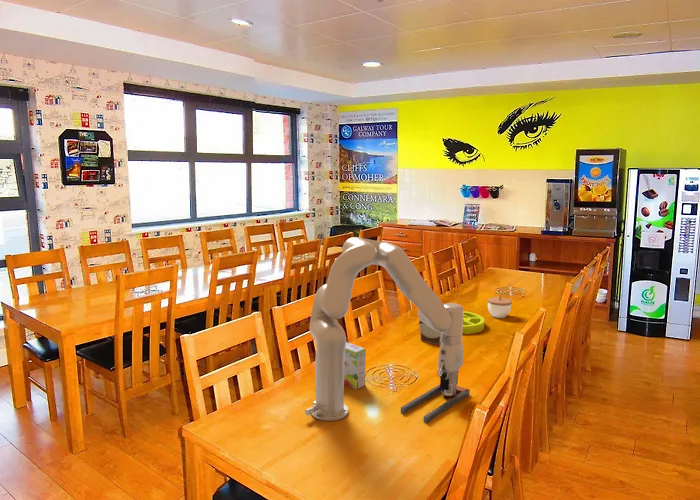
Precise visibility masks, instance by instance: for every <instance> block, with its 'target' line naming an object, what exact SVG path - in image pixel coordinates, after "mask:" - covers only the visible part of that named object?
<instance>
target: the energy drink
mask: <svg viewBox="0 0 700 500" xmlns="http://www.w3.org/2000/svg"><path fill="white" fill-rule="evenodd" d="M444 370H446V369H445V368H444ZM444 374H445V375H446V372H444ZM448 379H449V389H448V390H444V389H442V388H441V392H440V393H441V395H443V396H446V397H455V396H456V386H458V382H457V370H455V371H453V372H451V373H449V376H448Z"/></svg>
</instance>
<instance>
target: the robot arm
mask: <svg viewBox="0 0 700 500" xmlns="http://www.w3.org/2000/svg"><path fill="white" fill-rule="evenodd" d="M371 265H374V266H381V267H383V268H384V269H385V270H386V272H387V273H388V275H389V276H390V277H391V279H392V281H393V282H394V284H395V285H396V286H397V287H398V289H399V291H400V292H401V293H402V295H404V297H405V298H407V299H408V300H409V301H410V302H411V303H412V304H414V305H415V306H416V307H417V308H418V310H417V317H418V319H419V321H420V320H421V321H422V322H423V323H425V324H426V325H428V326H429V327H431V328H432V329H433V330H435V331H438V332H441V336H440V345H439V351H438V360H437V365H438V369H437V370H436V374H437V375H438V376H439V379H440V380H439V382H440V383H439V385H440V388H442V389H444V390H448V389H449V379H448V376H449V373H451V372H453V371H455V370H457V383H458V381H459V379H458V378H459V377H458V376H459V371H460V370H459V369H460V368H462V366H463V364H464V347H463V334H462V329H463V311H464V307H463V306H462V305H461V304H459V303H455V302H448V303H443V301H442V300H441V299H440V298H439V296H438V295H437V294H436V292H435V291H434V290H433V289H432V288H431V286H430V285H429V284H428V283H427V282H426V281H425V279H424V278H423V277H422V275H421V274H420V273H419V271H418V270H417V268H416V266H415V265H414V263H413V262H412V260H411V259H410V257H409V256H408V255H407V253H406V252H405V250H404V249H403V248H401V247H400V246H398V245H396V244H394V243H390V242H386V241H382V240H381V241H380V240H373V239H368V238H364V237H357V236H353V237H350V238H347V240H346V241H344V243H343V245H342V253H340V255H338V257H337V258H335V260H334V262H333V263H332V265H331V266H330V270H329V273H328V278H327V280H326V283H325V284H323V285H321V286H320V287H319V288H318V289H317V291H316V293H315V295H314V299H313V304H312V310H311V312H310V319H309V333H310V335H311V337H312V338H313V339H314V341H315V343H316V352H315V359H314V369H315V373H314V374H315V379H314V382H315V385H314V386H315V389H314V390H315V393H314V394H315V400H314V401H313V402H312V405H311V407H309V408H307V409H305V410H304V413H305V415H306V416H310V415H311V416H312V417H313V418H315V419H317V420H320V421H324V422H326V421H327V422H332V421H333V422H334V421H338V420H341V419H343V418H346V416H347V415H348V414H349V407H348V406H347V404H345V403H344V401H345V399H344V398H345V385H344V353H345V347H346V342H347V336H346V332H345V330H344V328H343V326H342V325H341V324H340V323H339V322H338V319H342V318H344V317H345V316H346V315H347V313H348V312H349V308H350V305H351V299H352V293H353V290H354V289H353V288H354V284H355V281H356V278H357V275H358V274H359V273H360V272H361V271H362V270H363V269H365V268H367V267H370V266H371ZM444 368H445V369H446V370H444ZM444 372H446V375H445V374H444Z"/></svg>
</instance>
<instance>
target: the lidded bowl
mask: <svg viewBox="0 0 700 500" xmlns="http://www.w3.org/2000/svg"><path fill="white" fill-rule="evenodd" d="M512 303H513V302H512V300H511V299H509V298H507V297H506V298H505V297H502V296H495V297H494V296H492V297H489V298H487V310H488V312H489V314H490V315H491V316H492V317H493V318H496V319H505V318H506V317H507V316H509V314H510V312H511V308H512Z"/></svg>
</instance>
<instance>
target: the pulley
mask: <svg viewBox="0 0 700 500" xmlns="http://www.w3.org/2000/svg"><path fill="white" fill-rule="evenodd" d="M484 329H485V318H484V317H483V316H481V315H480V314H478V313H474V312H471V311H464V310H463V329H462V335H469V334H476V333H477V334H478V333H479V332H481V331H483V330H484Z"/></svg>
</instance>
